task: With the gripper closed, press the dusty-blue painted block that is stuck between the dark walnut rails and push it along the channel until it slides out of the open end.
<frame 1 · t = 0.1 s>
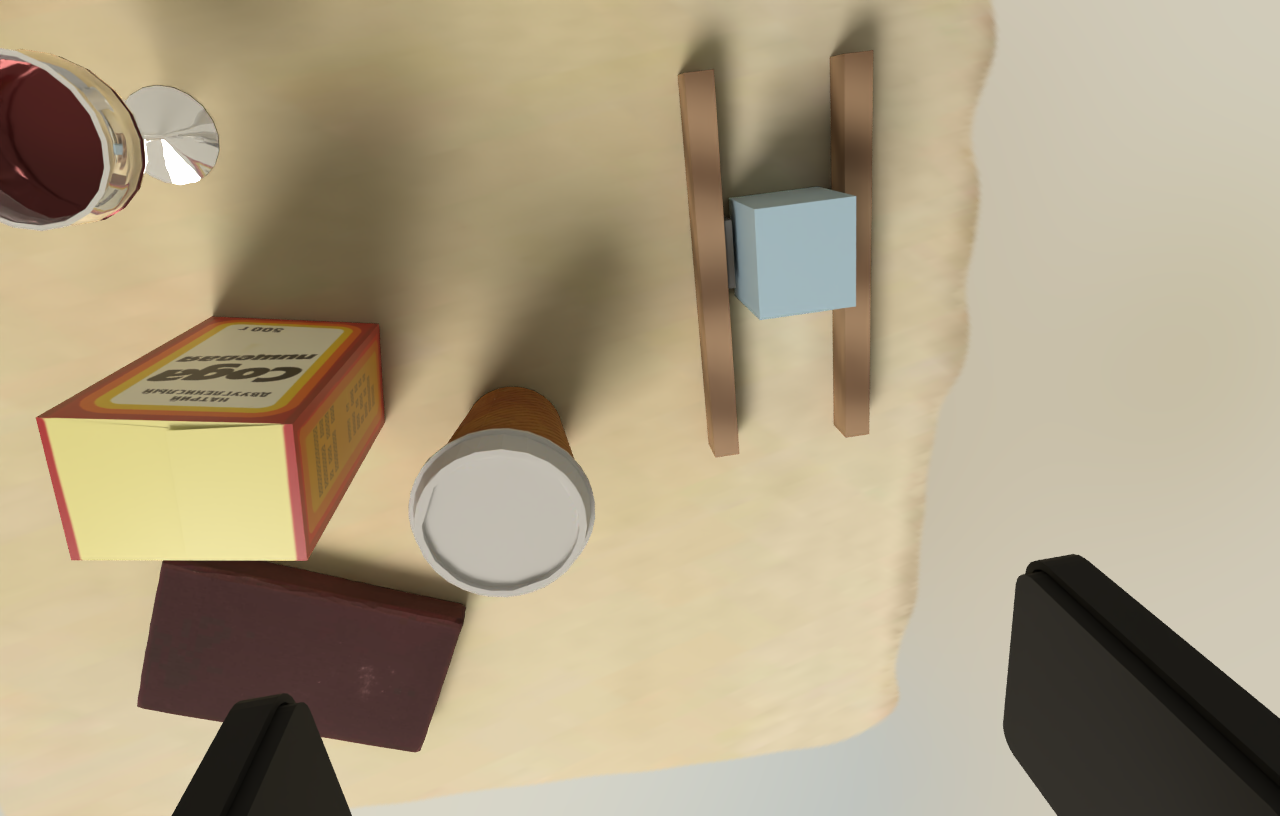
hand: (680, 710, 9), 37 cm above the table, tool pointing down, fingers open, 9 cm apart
chute: (776, 266, 45), on the table
disposable coffee cup: (514, 430, 47), on the table
wineglass: (171, 136, 39), on the table
block: (790, 250, 42), point 3 cm above the table, slide at 0.0 cm
baking soda box: (303, 370, 44), on the table
book: (315, 636, 52), on the table
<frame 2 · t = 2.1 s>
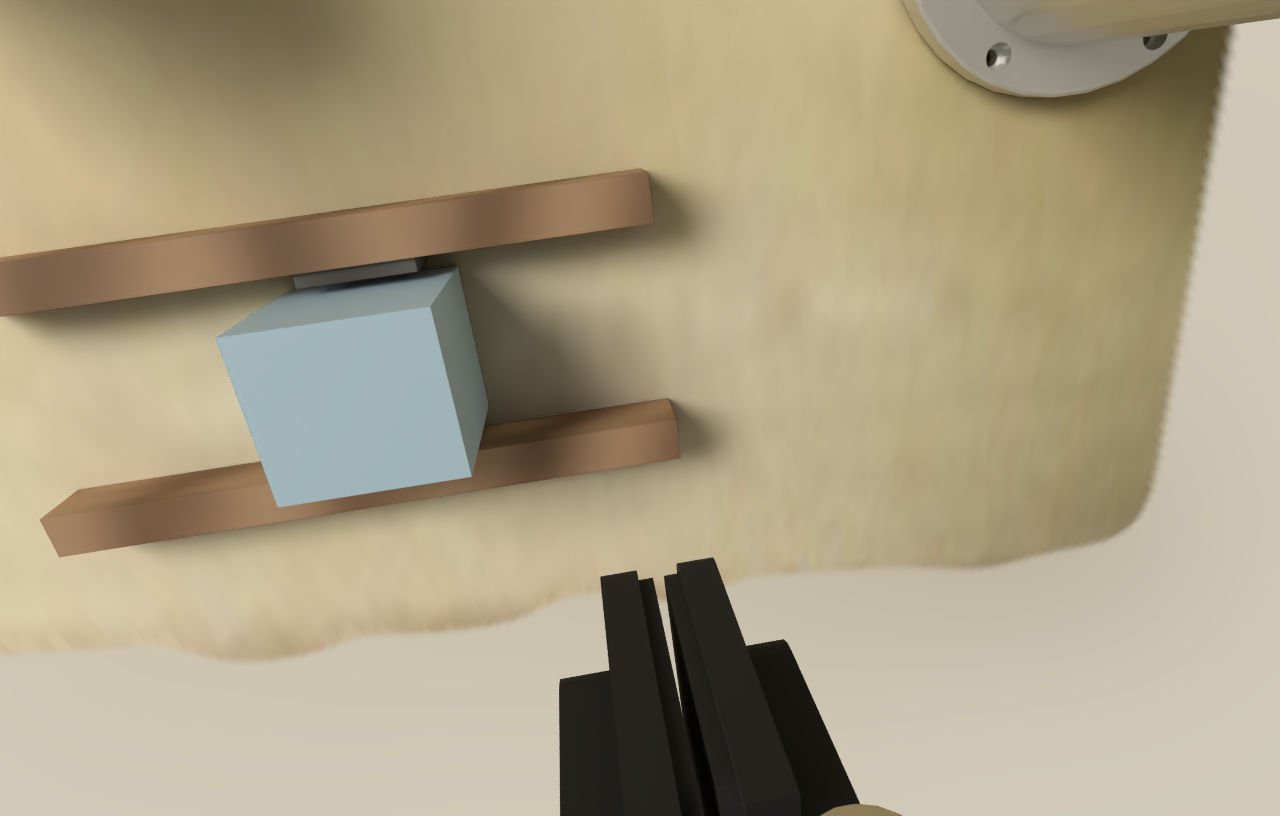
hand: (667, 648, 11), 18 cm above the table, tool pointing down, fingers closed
chute: (353, 356, 27), on the table
block: (374, 377, 24), point 3 cm above the table, slide at 0.0 cm
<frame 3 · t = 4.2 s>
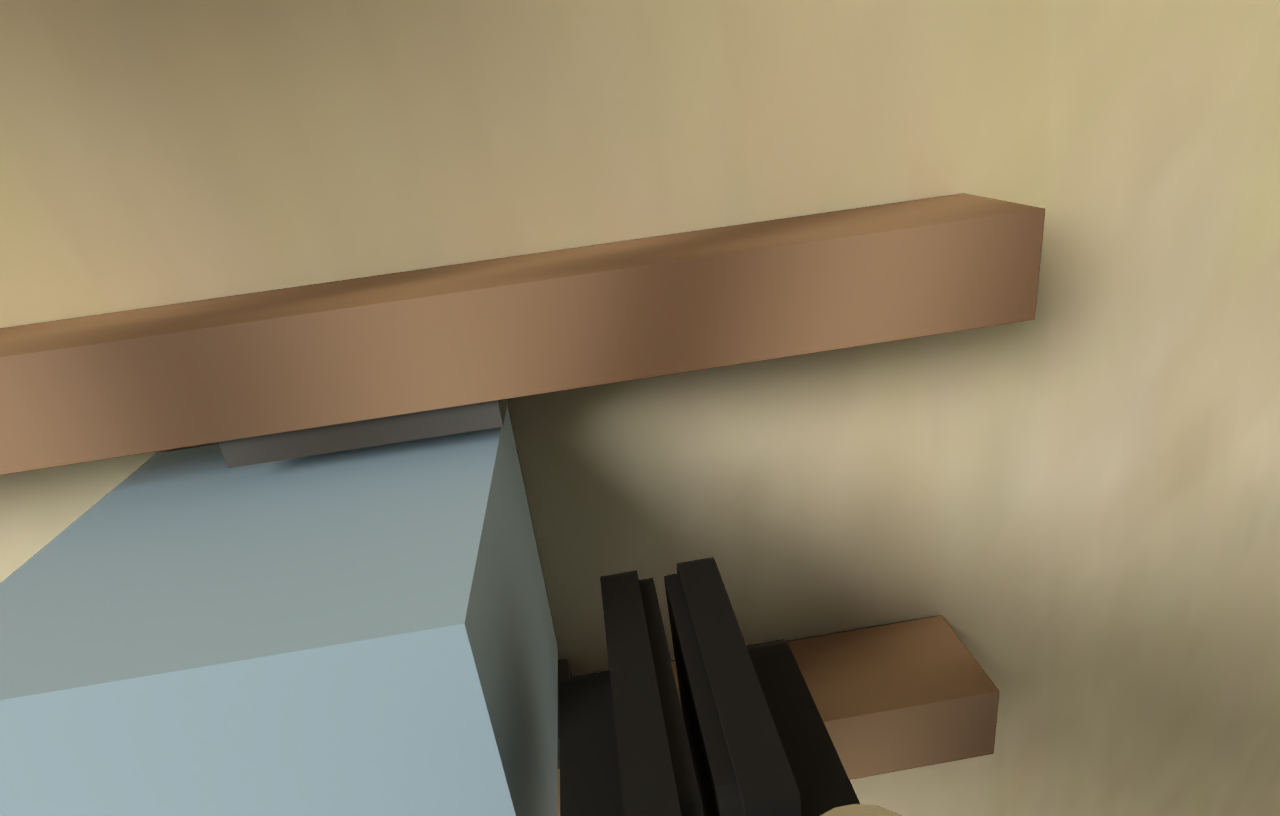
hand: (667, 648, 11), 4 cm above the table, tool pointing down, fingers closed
chute: (356, 562, 13), on the table
block: (327, 673, 11), point 3 cm above the table, slide at 1.2 cm
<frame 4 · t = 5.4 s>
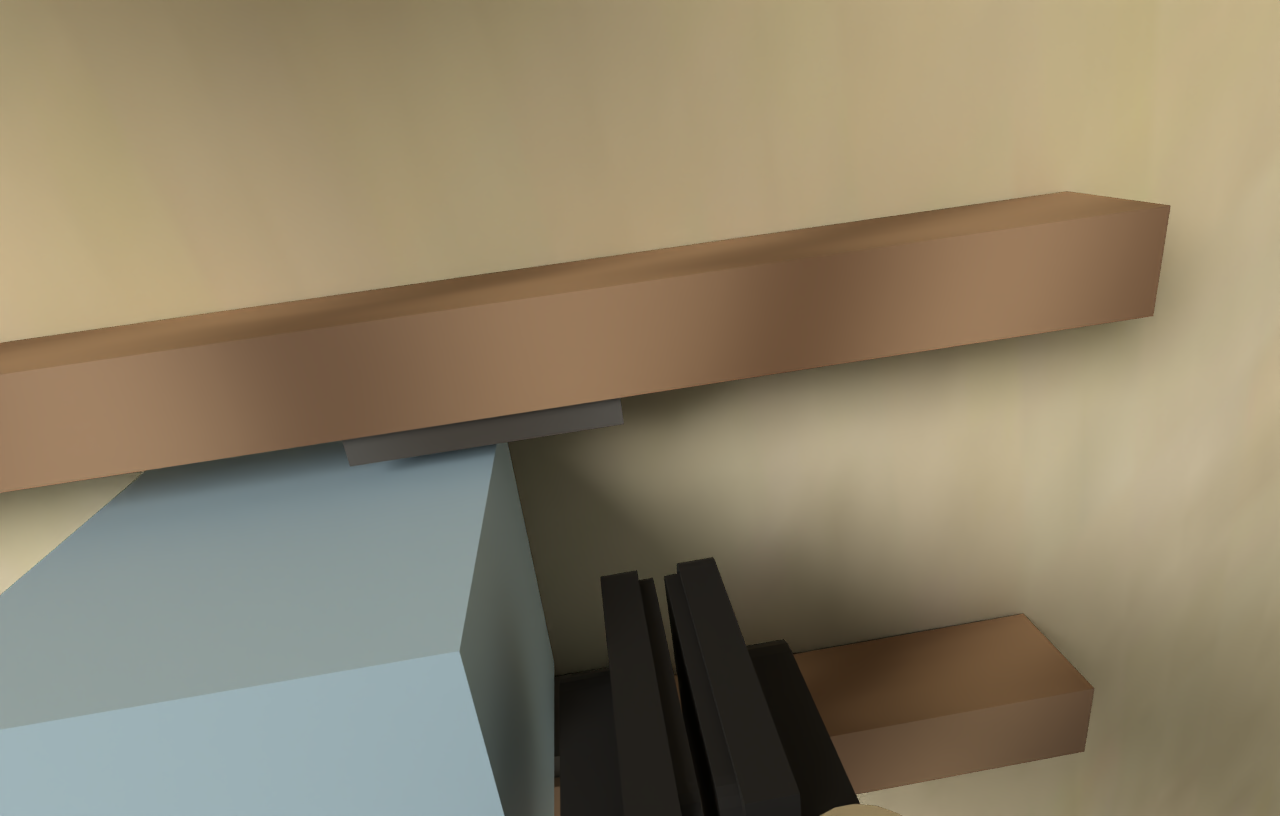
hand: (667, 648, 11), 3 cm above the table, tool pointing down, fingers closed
chute: (450, 561, 13), on the table
block: (320, 694, 11), point 3 cm above the table, slide at 3.0 cm, touching gripper
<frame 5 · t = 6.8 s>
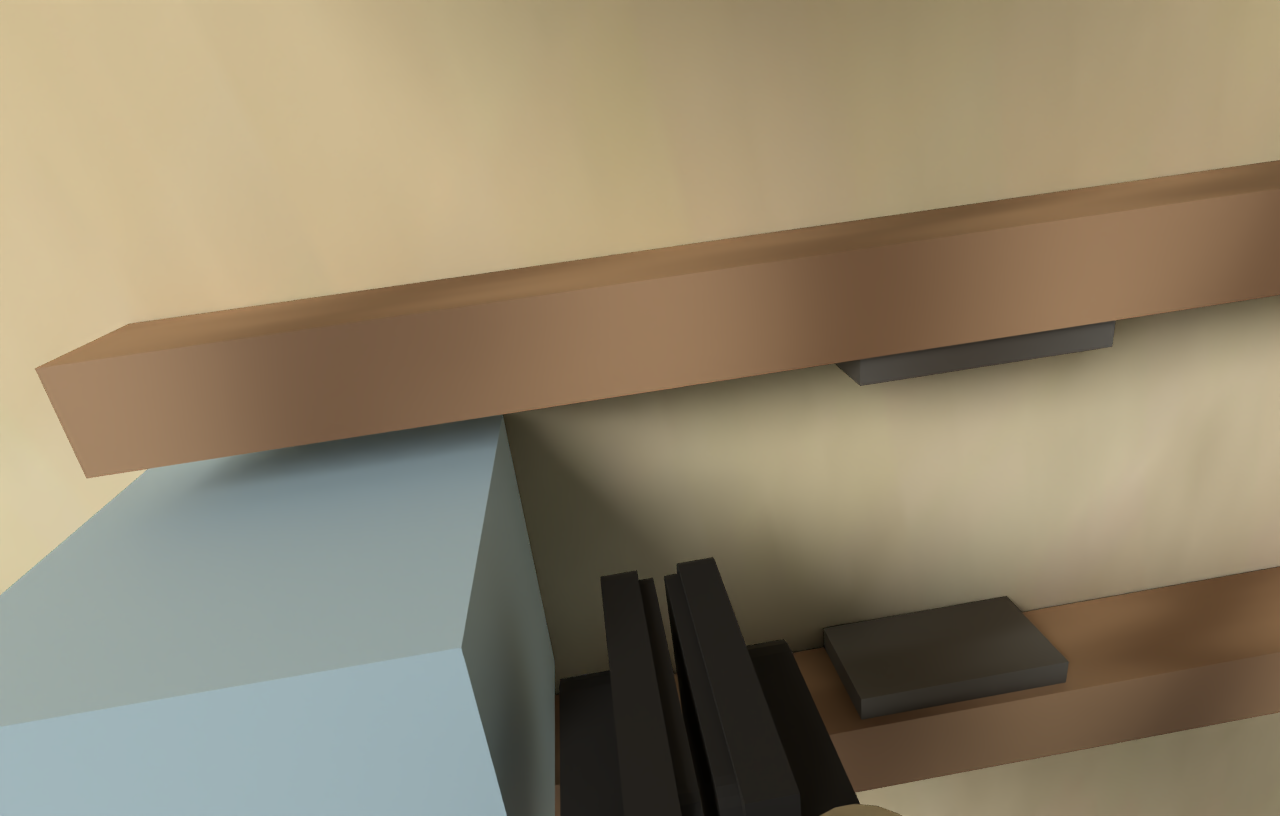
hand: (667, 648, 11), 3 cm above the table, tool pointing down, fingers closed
chute: (845, 495, 14), on the table
block: (322, 692, 11), point 3 cm above the table, slide at 10.6 cm, touching gripper
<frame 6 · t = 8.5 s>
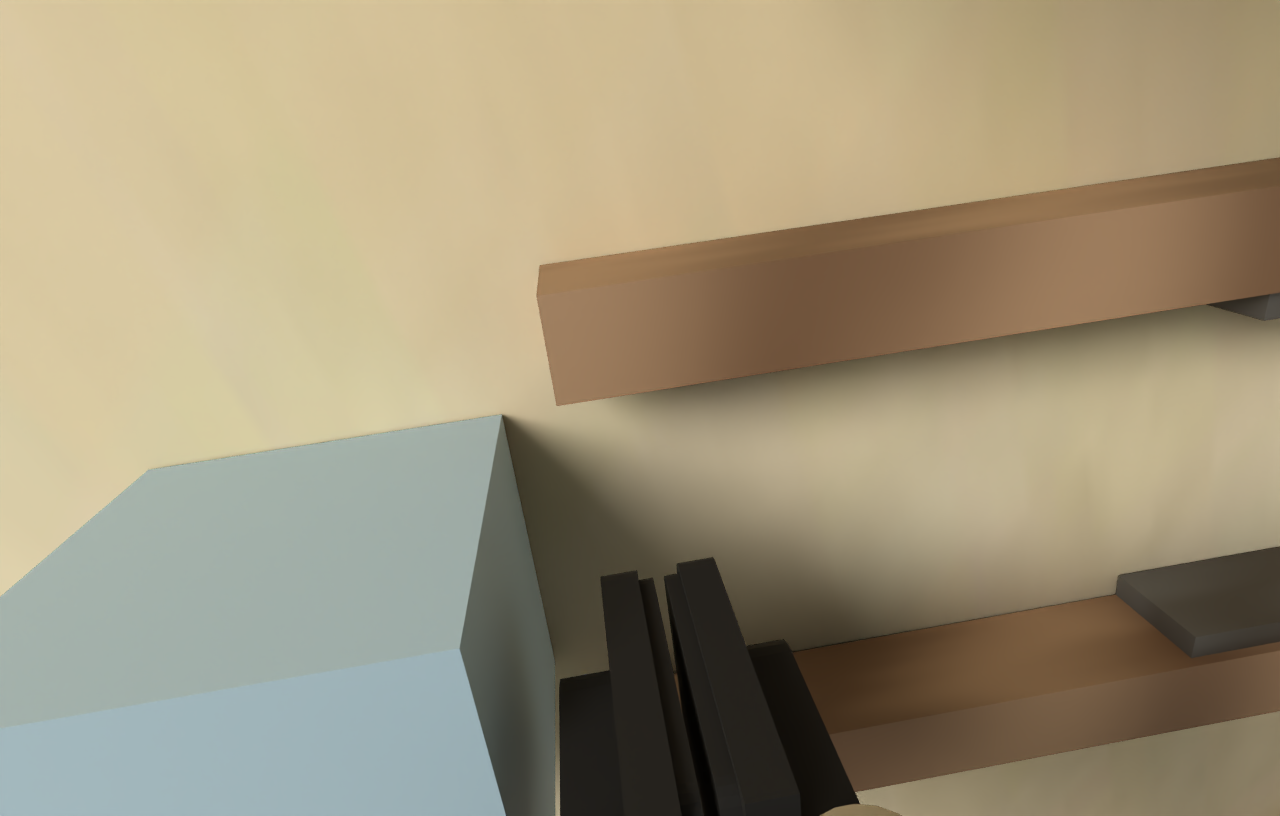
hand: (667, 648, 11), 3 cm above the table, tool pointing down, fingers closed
chute: (1163, 441, 14), on the table
block: (321, 693, 11), point 3 cm above the table, slide at 17.1 cm, touching gripper
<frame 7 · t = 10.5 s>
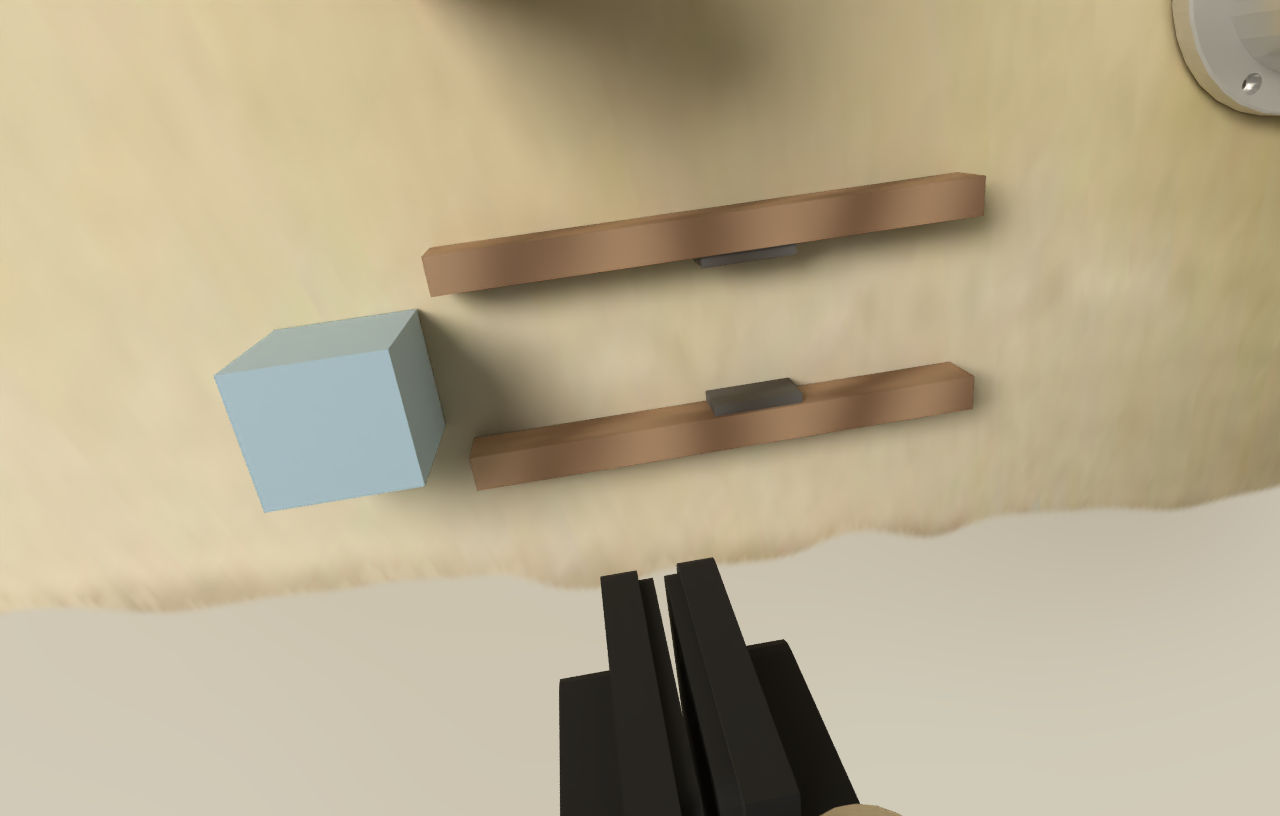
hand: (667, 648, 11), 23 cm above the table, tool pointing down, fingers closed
chute: (710, 326, 33), on the table
block: (345, 404, 29), point 3 cm above the table, slide at 17.1 cm
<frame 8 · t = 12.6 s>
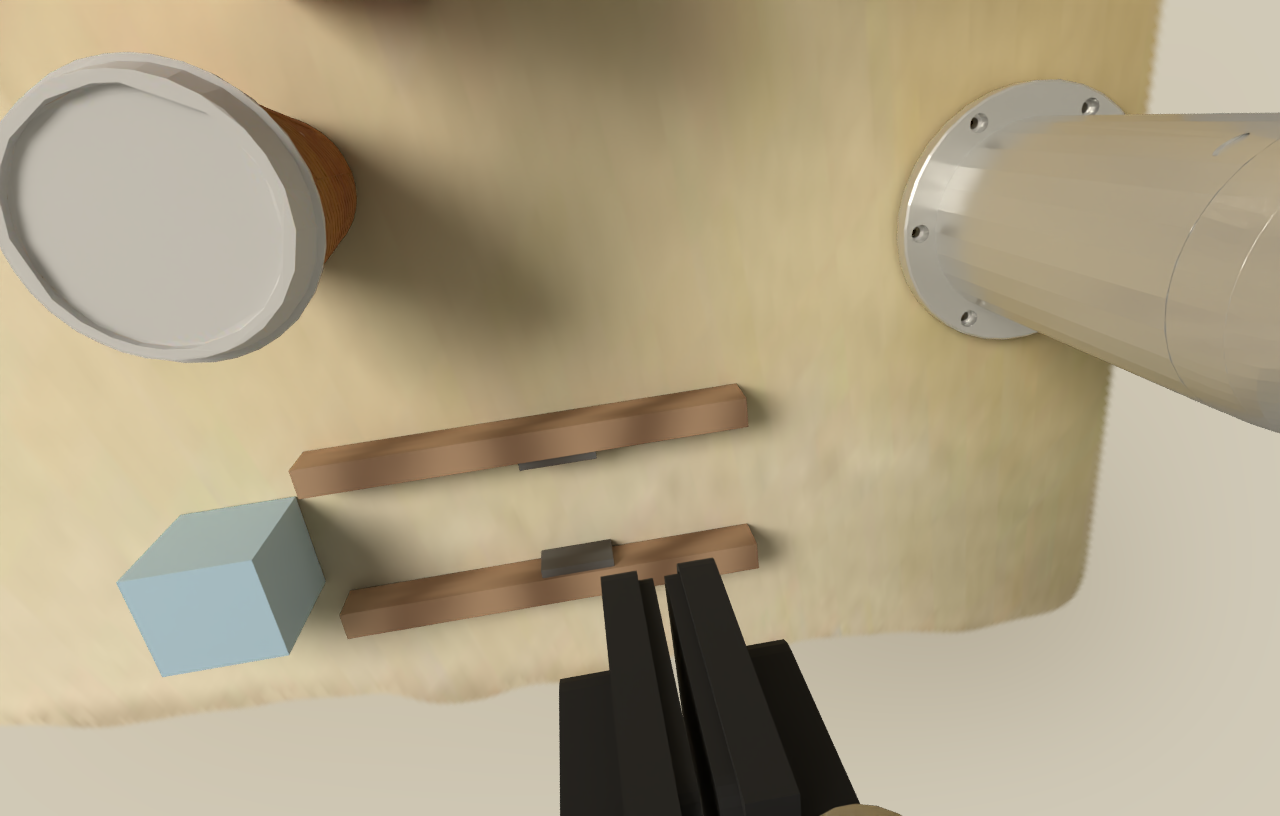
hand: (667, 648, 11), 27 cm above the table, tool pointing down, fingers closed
chute: (540, 502, 40), on the table
disposable coffee cup: (286, 189, 33), on the table
block: (232, 582, 36), point 3 cm above the table, slide at 17.1 cm
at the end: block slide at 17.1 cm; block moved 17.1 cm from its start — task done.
